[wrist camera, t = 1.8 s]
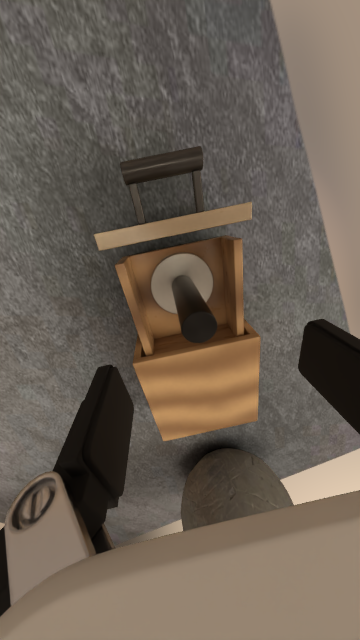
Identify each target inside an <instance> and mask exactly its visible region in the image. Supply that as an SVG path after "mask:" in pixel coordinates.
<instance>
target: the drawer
mask: <svg viewBox="0 0 360 640" xmlns="http://www.w3.org/2000/svg"><path fill="white" fill-rule="evenodd" d="M120 167H121V171H122V175H123V178H124V181H125V184H126V185H129V189H130V193H131V197H132V201H133V204H134V208H135V212H136V216H137V220H138V224H139V225H137V226H132V227H127V228H122V229H117V230H113V231H108V232H103V233H98V234H94V237H95V240H96V243H97V245H98V248H99V250H100V251H101V250H106V249H111V248H115V247H120V246H125V245H130V244H135V243H140V242H144V241H149V240H154V239H159V238H164V237H168V236H173V235H178V234H183V233H188V232H193V231H197V230H202V229H207V228H212V227H217V226H222V225H226V224H231V223H236V222H241V221H246V220H250V219H252V202H248V203H243V204H239V205H234V206H229V207H224V208H219V209H214V210H209V211H205V212H204V203H203V193H202V183H201V173H200V171H201V170H202V168H203V153H202V148H201V146H198V147H193V148H188V149H183V150H178V151H173V152H168V153H163V154H158V155H153V156H149V157H144V158H139V159H134V160H129V161H124V162H120ZM191 172H192V181H193V189H194V198H195V206H196V213H195V214H190V215H185V216H180V217H176V218H171V219H166V220H161V221H156V222H151V223H146V221H145V217H144V213H143V208H142V204H141V200H140V196H139V192H138V187H137V183H142V182H147V181H152V180H157V179H162V178H167V177H171V176H176V175H181V174H186V173H191ZM180 252H185V253H191V254H194V255H196V256H198V257H199V258H201V259H202V260H203V261H204V262H205V263H206V264H207V265H208V266H209V268H210V270H211V272H212V276H213V289H212V293H211V295H210V297H209V299H208V300H207V302H206V304H207V305H208V307H209V309H210V310H211V312H212V314H213V315H214V317H215V319H216V321H217V330H216V333H215V334H214V336H213V337H212V338H211V339H209V340H208V341H206V342H203V343H192V342H190V341H188V340H186V339H185V338H184V336H183V335H182V332H181V327H180V323H179V318H178V314H173V313H170V312H168V311H166V310H164V309H163V308H161V307H160V306H159V305H158V304H157V302H156V301H155V299H154V297H153V295H152V291H151V278H152V274H153V271H154V270H155V268H156V266H157V265H158V264H159V263H160V261H162V260H163V259H164V258H166V257H167V256H169V255H172V254H175V253H180ZM115 268H116V271H117V274H118V277H119V280H120V283H121V285H122V288H123V291H124V294H125V297H126V300H127V303H128V306H129V309H130V311H131V314H132V317H133V320H134V323H135V326H136V329H137V332H138V335H139V337H140V340H141V343H142V346H143V349H144V352H145V355H146V357H147V356H151V355H156V354H160V353H165V352H170V351H174V350H179V349H184V348H188V347H193V346H198V345H202V344H207V343H211V342H216V341H221V340H225V339H230V338H235V337H239V336H244V320H243V257H242V239H241V238H236V237H231V236H226V235H225V236H220V237H215V238H210V239H206V240H201V241H196V242H191V243H186V244H182V245H177V246H172V247H167V248H162V249H158V250H153V251H148V252H143V253H138V254H134V255H129V256H124V257H122V258H121V259H120V260H119V261H118V262H117V263H116V264H115Z"/></svg>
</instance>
